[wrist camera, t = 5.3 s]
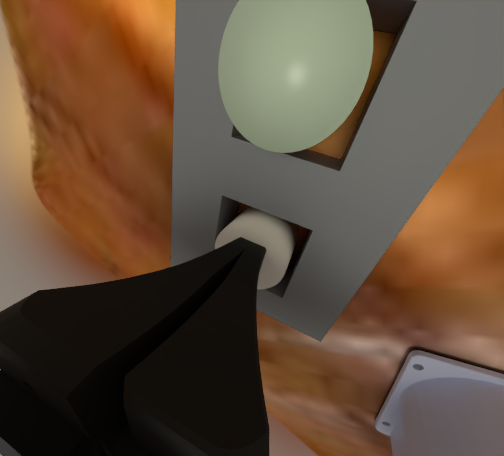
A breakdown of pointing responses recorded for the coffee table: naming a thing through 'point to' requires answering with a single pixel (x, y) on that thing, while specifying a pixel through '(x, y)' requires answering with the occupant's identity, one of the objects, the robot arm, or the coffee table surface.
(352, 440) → the coffee table surface
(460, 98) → the button panel
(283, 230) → the cream button
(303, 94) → the sage button
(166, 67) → the coffee table surface
